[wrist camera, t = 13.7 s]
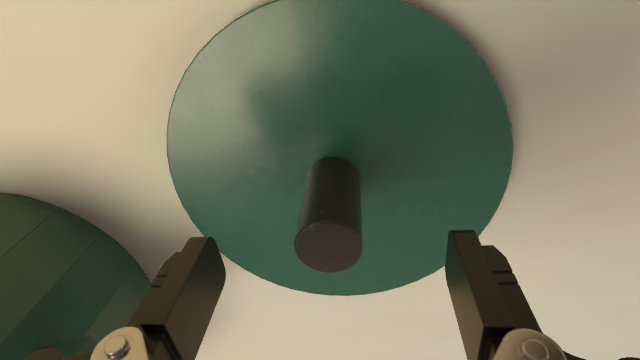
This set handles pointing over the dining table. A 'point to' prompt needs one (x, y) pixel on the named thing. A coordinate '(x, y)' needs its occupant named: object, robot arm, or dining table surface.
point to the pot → (60, 281)
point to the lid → (338, 143)
